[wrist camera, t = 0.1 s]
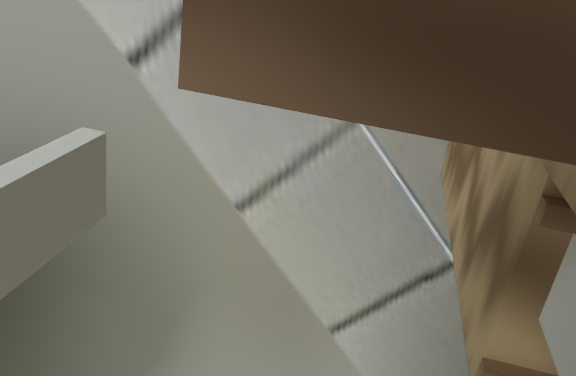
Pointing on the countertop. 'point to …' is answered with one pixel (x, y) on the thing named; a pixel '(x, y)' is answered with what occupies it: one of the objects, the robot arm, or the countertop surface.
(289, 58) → the frame bar
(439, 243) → the countertop surface
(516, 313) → the notch post
